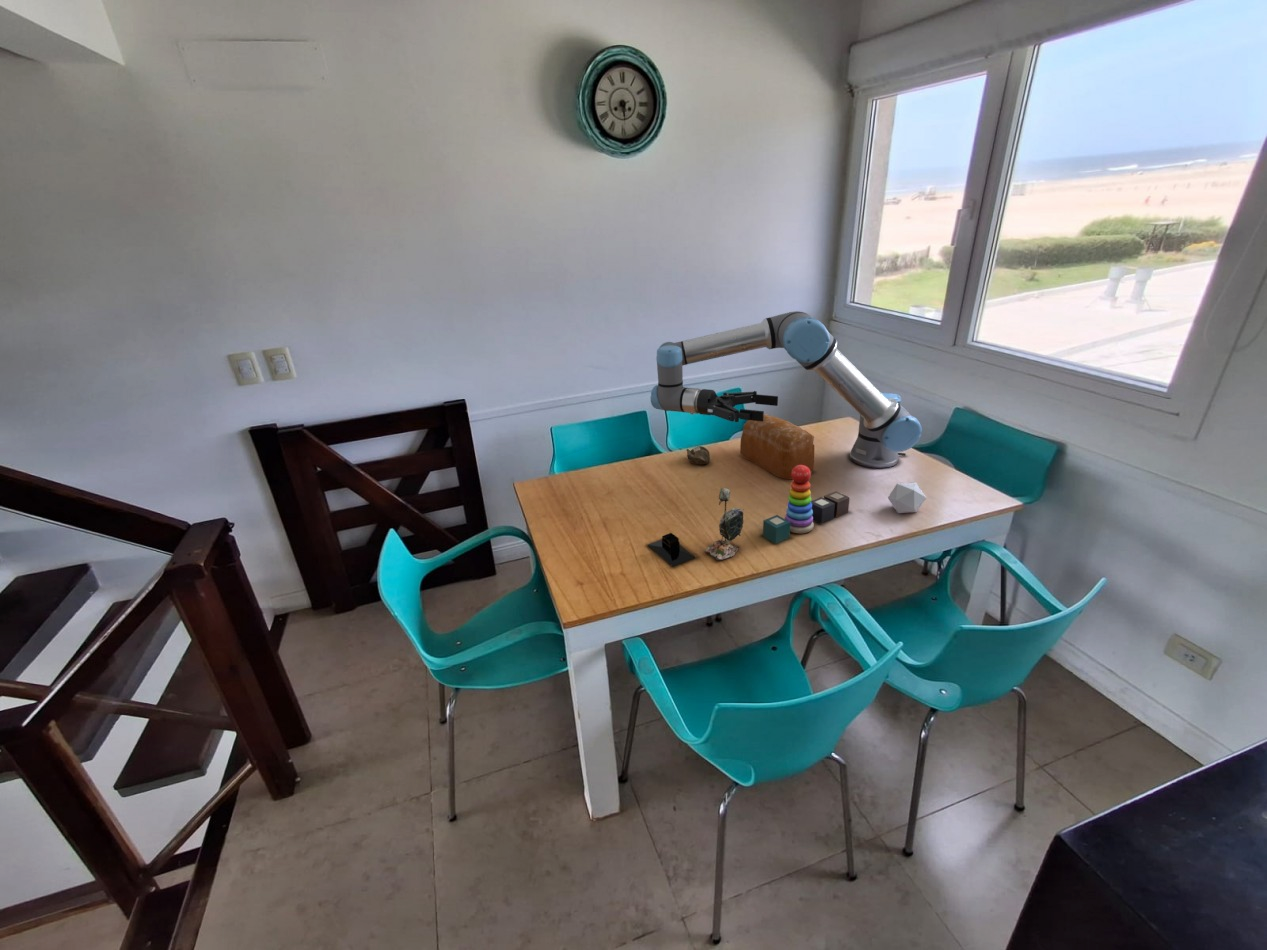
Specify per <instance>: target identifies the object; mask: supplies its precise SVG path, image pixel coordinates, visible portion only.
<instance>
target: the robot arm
mask: <svg viewBox="0 0 1267 950" xmlns="http://www.w3.org/2000/svg"><path fill="white" fill-rule="evenodd" d="M763 348H767V349H768V350H774V349H784V350H785V351H786V353H787V354H788V355H789V356H790V357H791V358H792V359H794V360H795V361H796V362H797V363H798V364H799V365H800V366H802V368H804V369H805V370H806V371H815V373H816V374H817V375H818V376H820V378H821V379H823V380H824V381H825V382H826V383H827V384H828V386H830V387H831V388H832V389H833V390H834V391H835V393H837V394H838V395H839V396H840V397H841V399H843V400H844V401H845V402H846V403H847V404H848V405H849V406H850V407H851V408H852V409H853V410H854V411H855V412H857V414H858V415H859V423H858V433H857V437H856V439H855V442H854V444H853V445H852V448H851V450H850V452H849V459H850V460H851V461H852V462H853V463H855V464H857V465H859V466H862V467H865V468H871V469H886V468H890V467H894V466H896V465H897V464H898V463H899V457H900V456H906V451H908V450H910V449H911V448H913V447H914V446H915V445H917V444H918V442H919V441H920V439H921V437H922V433H923V428H922V424H921V423H920V421H919V420H918V418H916V417H914V416H913V415H911V413H910V412H908V410H907V409H906V408H905V407H903V405H902V404H901V403H902V397H901V396H900V395H899V394H897V393H892V392H881V391H880V389H878V388H877V387H876V386H875V385H874V384H873V383H872V382H871V381H870V380H869V379H868V378H867V377H866V376H865V375H864V374H863V373H862V371H860V370H859V369H858V368H857V367H856V366H855V365H854V364H853V363H852V362H851V361H850V360H849V359H848V358H847V357H846V356H845V355H844V353H842V352H841V351H840V349H838V340H837V339H836V338H835V337H834V336H833V335H832V334H831V333H830V332H829V331H828V329H827V326H825V325H824V323H823V322H821V321H820V320H818V319H816V318H815V317H813V316H811V315H810V314H809V313H807V312H804V311H801V310H800V311H798V310H795V311H789V312H786V313H781V314H778V315H774V316H769V317H765V318H763V319H762V320H761V322H758V323H755V324H750V325H745V326H741V327H737V328H733V329H728V330H724V331H719V332H715V333H711V334H707V335H702V336H699V337H695V338H690V339H685V340H682V341H676V342H673V341H665V342H663V343H661V344H660V346H659V347H658V348H657V349H656V358H655V359H656V368H657V369H656V370H657V384H655V385H654V386H653V387H652V389H651V391H650V405H651V406H652V407H653V408H654V409H656V410H661V411H665V412H676V413H677V412H678V413H686V414H687V413H688V414H690V415H694V414H697V415H698V414H699V415H703V416H715V417H717V418H721V419H723V420H726V421H729V422H735V423H739V422H740V420H746V421H747V420H753V421H762V422H763V421H764V414H765V411H764V410H755V409H746V408H740V409H737V408H735V407H736V406H739V405H746V404H755V405H762V406H763V405H764V406H771V407H772V406H773V407H778V405H779V396H778V395H769V394H758V391H756V390H754V391H739V392H738V391H737V392H726V391H725V392H723V393H722V395H717V393H716V391H715V389H710V388H709V389H707V388H700V387H699V388H698V387H684V380H683V378H684V377H683V373H684V372H683V366H687V365H690V364H691V365H692V364H695V363H699V362H705V361H708V360H709V361H710V360H713V359H718V358H721V357H727V356H732V355H736V354H740V353H746V352H749V351H754V350H758V349H763Z"/></svg>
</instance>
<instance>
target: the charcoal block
mask: <svg viewBox="0 0 1267 950" xmlns="http://www.w3.org/2000/svg"><path fill="white" fill-rule="evenodd" d="M811 503H812V510H813V514H812V516H813V522H816V523H818V524H820V525H822V524H825V523H827V522H830V521H832V520H834V519H835V517H834V509H835V503H833V502H831V501H829V500H827V499H825V498H824V496H823V497H822V496H820V497H818V498H815V499H812V500H811Z"/></svg>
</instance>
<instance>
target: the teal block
mask: <svg viewBox="0 0 1267 950" xmlns="http://www.w3.org/2000/svg"><path fill="white" fill-rule="evenodd" d="M790 535H791V531H790V522H789V521H787V520H786V519H785V517H782V516H780V515H779V514H776V515H773V516H771V517H768V518H766V519H763V521H762V537H764V538H765V539H766V540H768V541H770V542H771V543H773V544H774V545H777V544H779V543H781V542H784V541H786V540H788V539H790Z"/></svg>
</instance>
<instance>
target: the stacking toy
mask: <svg viewBox="0 0 1267 950" xmlns="http://www.w3.org/2000/svg"><path fill="white" fill-rule="evenodd" d="M811 476H812V472H810V469H809V468H808V467H807V466H805V465H797V466H795V467H794V468H793V469H792V472H791V477H792V479H791V480H792V481H791V483H790V487H791V488H790V489H789V495H788V498H787V499H788V502H787V503H786V504H787V508H786V511H785V512H786V513H785V516H784V519H786V520H787V521H789V522H790V533H795V534H807V533H809V532H811V531H812V530H814V527H815V524H814V520H813V516H812V514H813V510H812V503H811V501H812V497H811V493H812V492H811V490H810V489H811V483H810V482H809V481H810V479H811Z"/></svg>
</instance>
